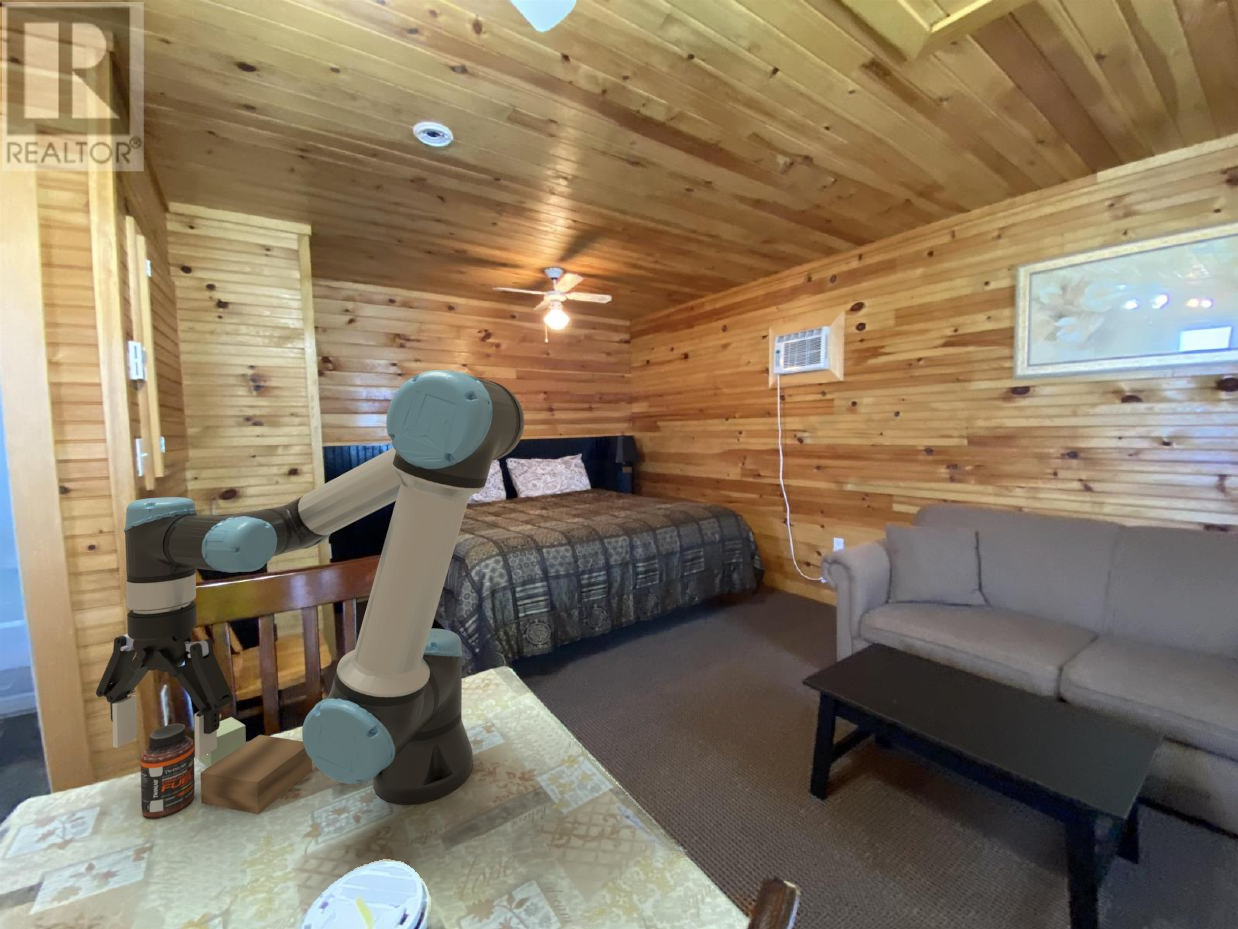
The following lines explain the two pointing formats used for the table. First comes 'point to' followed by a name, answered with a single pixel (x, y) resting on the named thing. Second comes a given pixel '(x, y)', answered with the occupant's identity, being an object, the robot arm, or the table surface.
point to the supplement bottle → (167, 771)
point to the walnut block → (255, 774)
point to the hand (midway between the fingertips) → (165, 748)
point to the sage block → (226, 740)
